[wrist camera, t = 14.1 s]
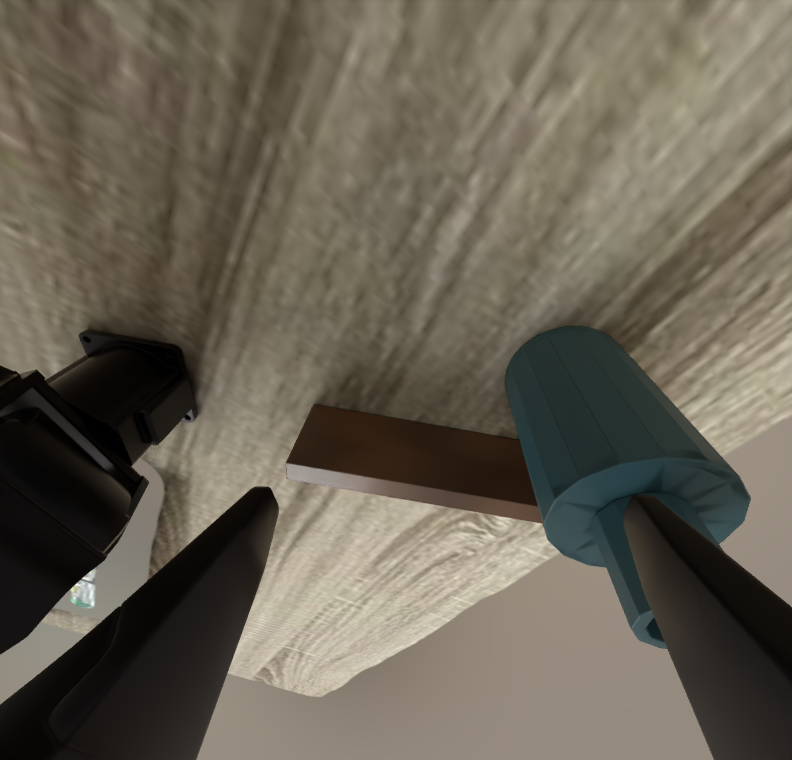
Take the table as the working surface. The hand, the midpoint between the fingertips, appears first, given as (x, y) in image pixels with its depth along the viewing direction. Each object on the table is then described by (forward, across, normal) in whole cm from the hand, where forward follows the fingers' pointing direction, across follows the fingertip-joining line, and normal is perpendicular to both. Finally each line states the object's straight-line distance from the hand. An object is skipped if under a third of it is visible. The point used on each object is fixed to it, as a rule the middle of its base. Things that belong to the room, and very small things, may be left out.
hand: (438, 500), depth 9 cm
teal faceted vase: (+13, -7, +5) cm, 16 cm away
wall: (+13, 0, +10) cm, 16 cm away
